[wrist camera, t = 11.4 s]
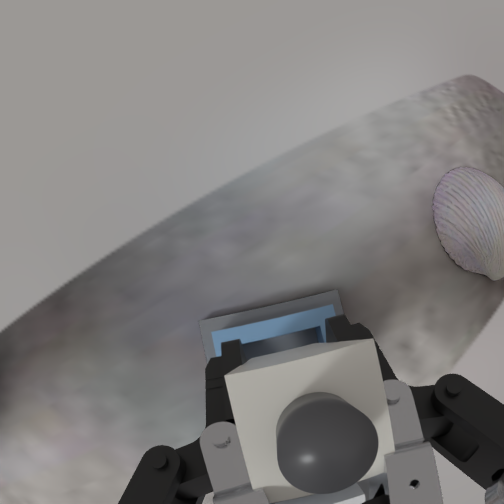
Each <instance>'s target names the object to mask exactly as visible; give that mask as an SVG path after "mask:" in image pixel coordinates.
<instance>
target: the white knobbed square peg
mask: <svg viewBox="0 0 504 504" xmlns="http://www.w3.org/2000/svg"><path fill="white" fill-rule="evenodd" d="M224 377H225V381H226V386H227V390H228V394H229V399H230V403H231V407H232V411H233V416H234V420H235V424H236V428H237V432H238V436H239V440H240V444H241V448H242V451H243V455H244V459H245V463H246V467H247V470H248V474H249V478H250V481H251V485H252V489H257V488H261V487H263V489H264V492H265V494H266V496H267V498H268V500H269V502H270V503H274V502H279V501H285V500H290V499H295V498H300V497H304V496H308V495H313V494H329V493H334V492H338V491H341V490H344V489H346V488H348V487H350V486H352V485H353V484H355V483H356V482H359V481H362V480H365V479H368V478H370V477H373V476H376V475H379V474H382V473H384V455H385V454H389V453H392V452H395V447H394V440H393V434H392V428H391V421H390V416H389V410H388V404H387V399H386V394H385V389H384V384H383V379H382V374H381V369H380V365H379V360H378V355H377V351H376V347H375V342H374V338H373V339H363V340H352V341H340V342H331V343H313V344H310V345H306V346H302V347H298V348H294V349H289V350H285V351H281V352H277V353H272V354H268V355H263V356H259V357H254V358H251V359H249V360H248V361H247V362H246V363H244V364H243V365H240V366H239V367H237V368H235V369H234V370H232V371H231V372H229V373H228V374H226V375H224Z"/></svg>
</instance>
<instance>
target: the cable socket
mask: <svg viewBox="0 0 504 504" xmlns="http://www.w3.org/2000/svg"><path fill="white" fill-rule="evenodd" d="M341 314H344V312H343V308H342V305H341V301H340V297H339V293H338V289H336V290H332V291H329V292H325V293H321V294H317V295H313V296H309V297H304V298H300V299H296V300H292V301H288V302H283V303H279V304H275V305H270V306H266V307H262V308H257V309H253V310H248V311H243V312H239V313H234V314H229V315H225V316H220V317H215V318H210V319H205V320H200V321H199V326H200V331H201V336H202V341H203V346H204V351H205V356H206V360H207V364H208V362H209V360H210V358H213V357H218V356H221V342H226V341H231V340H236V339H240V340H241V343H242V347H243V350H244V353H245V356H246V359H247V361H248V360H249V359H251V358H254V357H259V356H263V355H268V354H272V353H277V352H281V351H285V350H289V349H294V348H298V347H302V346H306V345H310V344H313V343H326V330H325V319H326V318H330V317H333V316H337V315H341ZM368 500H369V478H368V479H365V480H362V481H359V482H356V483H355V484H353V485H352V486H350V487H348V488H346V489H344V490H341V491H338V492H334V493H329V494H313V495H308V496H304V497H300V498H295V499H290V500H285V501H279V502H274V503H275V504H362V503H363V502H365V501H368Z"/></svg>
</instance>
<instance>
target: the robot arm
mask: <svg viewBox="0 0 504 504" xmlns="http://www.w3.org/2000/svg"><path fill="white" fill-rule="evenodd" d="M325 330H326V343H331V342H340V341H352V340H363V339H373V336H372V334H371V332H370V331H369V330H368V329H367V328H366V327H364V326H363V325H361V324H360V323H357V324H354V325H350V324H349V322H348V320H347V318H346V316H345V315H344V314H341V315H337V316H333V317H330V318H326V319H325ZM374 342H375V347H376V351H377V355H378V360H379V365H380V369H381V374H382V379H383V384H384V389H385V394H386V399H387V404H388V410H389V416H390V421H391V428H392V434H393V440H394V447H395V452H392V453H389V454H385V455H384V473H382V474H379V475H376V476H373V477H370V478H369V500H368V501H365V502H363V503H362V504H443V499H442V492H441V487H440V482H439V476H438V471H437V466H436V462H435V457H434V453H433V449H432V447H433V448H434V449H435V450H436V451H438V452H439V453H440V454H441V455H443V456H444V457H445V458H446V459H448V460H449V461H450V462H451V463H452V464H454V465H455V466H456V467H457V468H459V469H460V470H461V471H462V472H464V473H465V474H466V475H467V476H469V477H470V478H471V479H472V480H474V481H475V482H476V483H477V484H479V485H480V486H481V487H483V488H484V489H485V490H486V493H485V504H504V405H503V404H502V403H500V402H499V401H498V400H496V399H495V398H493V397H492V396H490V395H489V394H487V393H486V392H485V391H483V390H482V389H480V388H479V387H477V386H476V385H474V384H473V383H471V382H470V381H468V380H467V379H466V378H464V377H462V376H461V375H458V374H447V375H444V376H442V377H441V378H440V379H439V380H438V381H437V382H436V384H435V385H431V386H421V387H413V386H408V385H407V384H405V383H404V382H402V381H399V380H398V379H397V378H396V376H395V374H394V373H393V371H392V369H391V367H390V365H389V364H388V362H387V360H386V358H385V357H384V355H383V353H382V351H381V350H380V349H379V346H378V344H377V343H376V341H375V339H374ZM246 362H247V359H246V356H245V353H244V350H243V347H242V343H241V340H240V339H236V340H231V341H226V342H221V356H218V357H213V358H210V360H209V362H208V364H207V367H206V369H205V374H206V428H205V430H204V431H203V432H202V434H201V436H200V438H198V439H197V440H196V441H194V442H193V443H191V444H188V445H186V446H183V447H181V448H178V449H176V450H174V449H173V448H171V447H169V446H164V445H161V446H155V447H153V448H151V449H149V450H148V451H147V452H146V453H145V454H144V456H143V457H142V459H141V461H140V463H139V465H138V467H137V469H136V471H135V472H134V474H133V476H132V478H131V480H130V482H129V484H128V486H127V488H126V490H125V492H124V493H123V495H122V497H121V499H120V501H119V503H118V504H202V502H203V500H204V497H205V495H206V494H208V493H210V492H213V491H214V497H213V503H214V504H275V503H270V502H269V500H268V498H267V496H266V494H265V492H264V489H263V487H261V488H257V489H252V485H251V481H250V478H249V474H248V470H247V467H246V463H245V459H244V455H243V451H242V448H241V444H240V440H239V436H238V432H237V428H236V424H235V420H234V416H233V411H232V407H231V403H230V399H229V394H228V390H227V386H226V381H225V377H224V375H226V374H228V373H229V372H231V371H232V370H234V369H235V368H237V367H239V366H240V365H243V364H244V363H246ZM413 488H414V489H413Z"/></svg>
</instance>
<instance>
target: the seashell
mask: <svg viewBox="0 0 504 504" xmlns="http://www.w3.org/2000/svg"><path fill="white" fill-rule="evenodd" d="M434 197H435V198H434V199H433V203H434V205H433V206H432V208H433V210H434V218H435V219H434V221H435V225H436V226H437V228H436V231H437V233H438V237H439V239H440V240H441V244H442V245H443V246H444V248H445V251H446V252H447V253H448V254H449V257H450V258H452V259H453V260H455V263H456V264H457V265H459V266H461V267H462V268H463V269H464V270H466V271H467V270H469V271H470V272H471V271H472V272H475V273H479V274H483V275H486V276H488V277H489V278H490V279H491V280H493V281H496V280H499V279H501V278H503V277H504V188H503V187H502V186H501V185H500V183H498V182H497V181H496V180H495V179H493V178H492V177H491V176H489V175H487V174H486V173H484V172H481V171H479V170H476V169H474V168H469V167H464V168H463V167H459V168H455V170H450V172H449V173H445V176H444V177H443V178H442V179H441V181H440V184H439V185H438V186H437V188H436V192H435V193H434Z"/></svg>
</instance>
